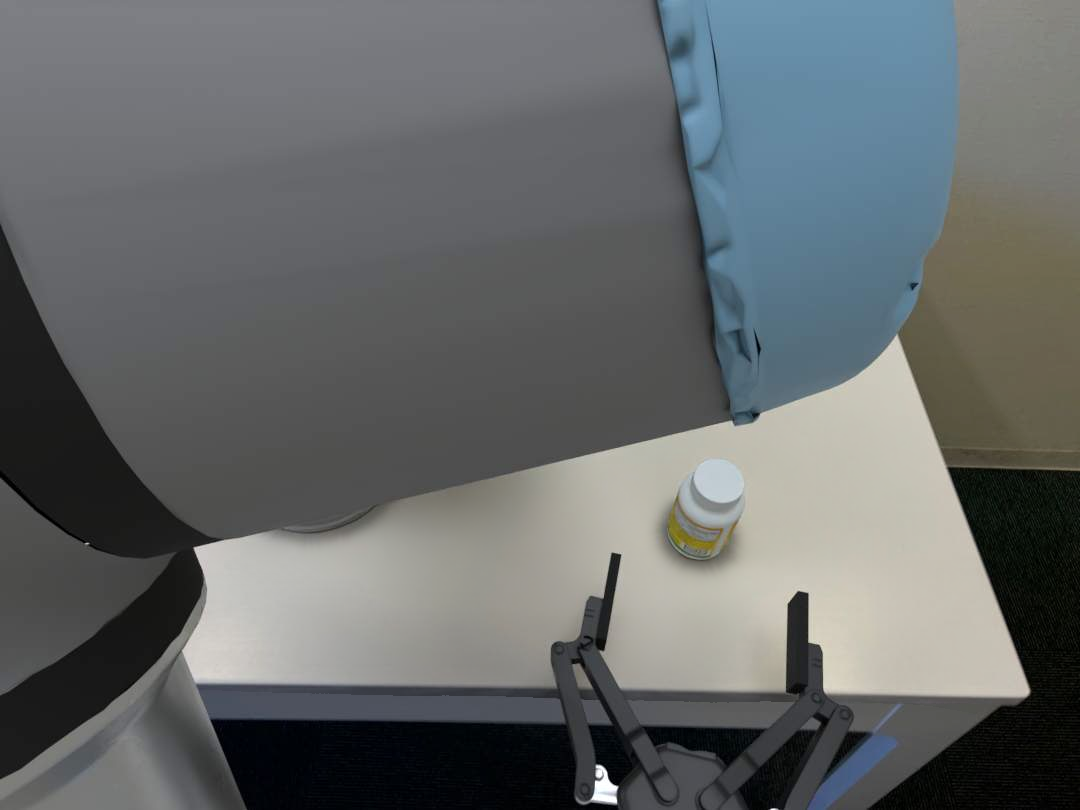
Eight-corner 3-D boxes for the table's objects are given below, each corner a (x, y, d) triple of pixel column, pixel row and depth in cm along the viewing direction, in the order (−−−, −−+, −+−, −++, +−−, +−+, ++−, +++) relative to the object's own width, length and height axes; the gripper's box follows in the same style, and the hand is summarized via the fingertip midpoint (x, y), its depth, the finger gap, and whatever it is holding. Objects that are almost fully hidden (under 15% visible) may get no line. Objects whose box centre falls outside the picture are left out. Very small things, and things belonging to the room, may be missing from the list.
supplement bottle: (685, 571, 60) (706, 521, 52) (655, 519, 63) (671, 464, 55) (739, 547, 61) (767, 495, 53) (706, 497, 64) (729, 441, 56)
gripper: (470, 868, 45) (542, 564, 57) (872, 979, 42) (859, 631, 54) (458, 862, 39) (542, 523, 51) (928, 992, 35) (899, 596, 48)
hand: (704, 578), depth 52 cm, fingers open, 13 cm apart
